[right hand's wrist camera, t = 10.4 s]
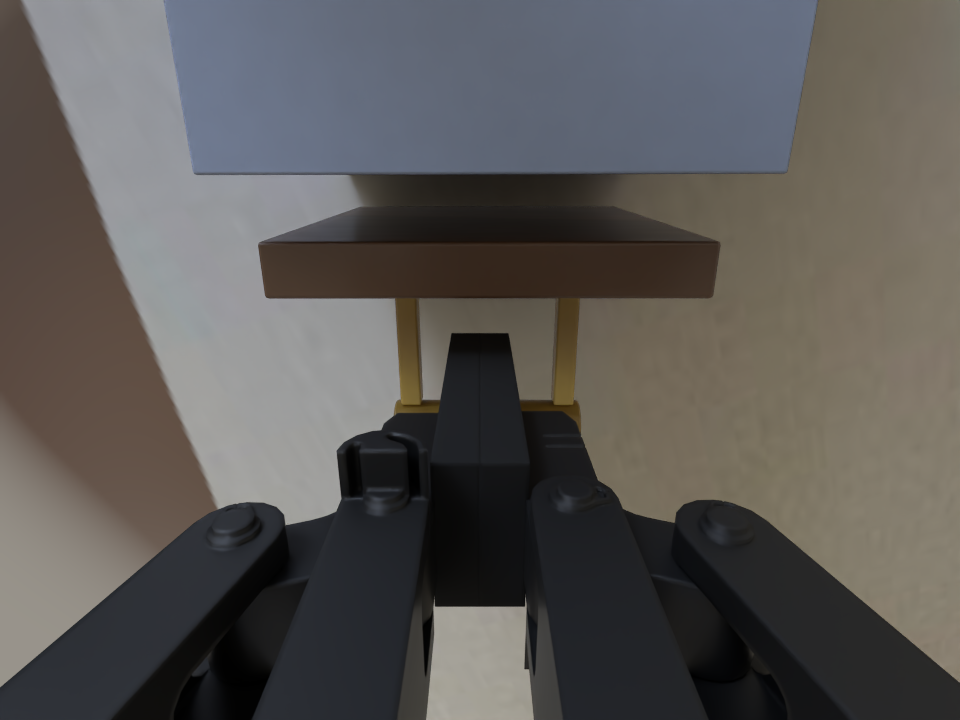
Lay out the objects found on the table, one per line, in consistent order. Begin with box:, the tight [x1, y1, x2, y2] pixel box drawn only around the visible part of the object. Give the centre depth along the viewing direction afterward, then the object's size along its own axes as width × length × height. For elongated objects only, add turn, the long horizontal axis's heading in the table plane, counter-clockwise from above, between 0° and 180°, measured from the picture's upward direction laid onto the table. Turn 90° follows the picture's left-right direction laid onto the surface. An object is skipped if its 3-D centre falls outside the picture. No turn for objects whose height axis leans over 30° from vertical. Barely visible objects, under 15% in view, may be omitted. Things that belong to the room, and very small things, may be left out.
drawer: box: [258, 207, 720, 434], centre depth 14 cm, size 24×10×10 cm, turn 0°
